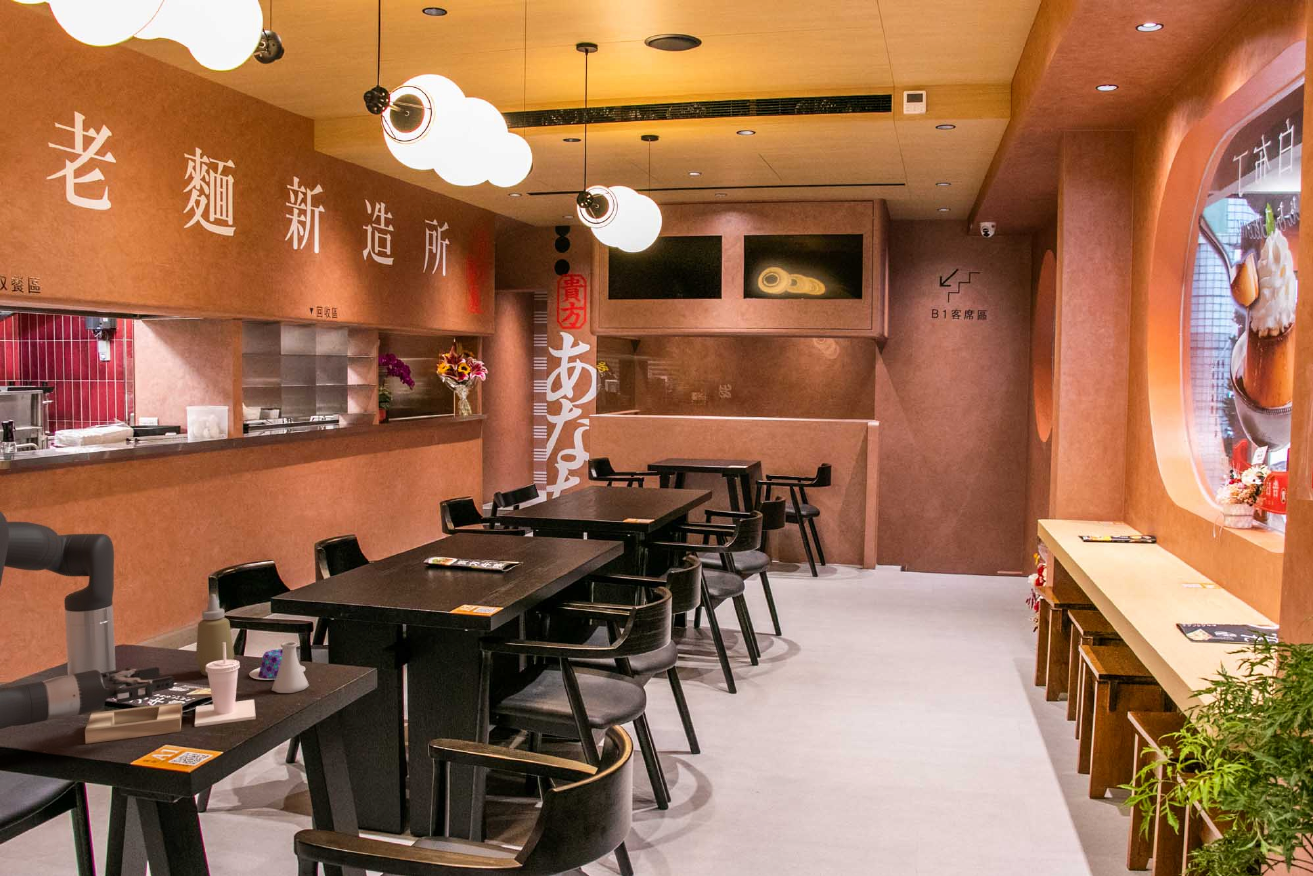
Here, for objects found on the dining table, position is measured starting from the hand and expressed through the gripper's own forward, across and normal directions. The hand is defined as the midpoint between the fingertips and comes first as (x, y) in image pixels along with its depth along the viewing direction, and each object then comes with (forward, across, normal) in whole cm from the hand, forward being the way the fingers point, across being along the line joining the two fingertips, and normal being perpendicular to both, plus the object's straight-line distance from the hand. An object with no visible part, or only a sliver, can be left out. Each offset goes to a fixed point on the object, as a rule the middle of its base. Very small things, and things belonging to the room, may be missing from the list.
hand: (165, 676), depth 200 cm
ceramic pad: (+11, 0, +10) cm, 15 cm away
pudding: (+30, +20, +10) cm, 37 cm away
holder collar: (-5, +4, +10) cm, 12 cm away
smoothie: (+11, 0, +10) cm, 14 cm away
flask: (+27, +7, +10) cm, 30 cm away
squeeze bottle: (+20, +30, +10) cm, 37 cm away
